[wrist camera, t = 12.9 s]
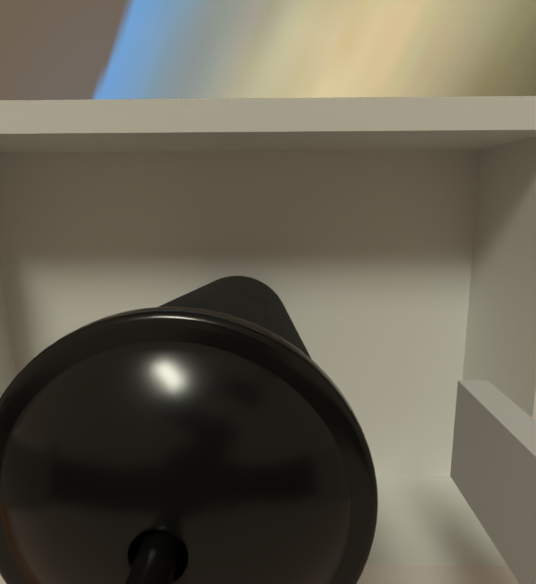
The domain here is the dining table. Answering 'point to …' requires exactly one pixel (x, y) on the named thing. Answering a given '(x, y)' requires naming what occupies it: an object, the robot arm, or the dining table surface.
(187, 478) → the drinking cup
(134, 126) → the box
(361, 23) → the dining table surface
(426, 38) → the dining table surface
